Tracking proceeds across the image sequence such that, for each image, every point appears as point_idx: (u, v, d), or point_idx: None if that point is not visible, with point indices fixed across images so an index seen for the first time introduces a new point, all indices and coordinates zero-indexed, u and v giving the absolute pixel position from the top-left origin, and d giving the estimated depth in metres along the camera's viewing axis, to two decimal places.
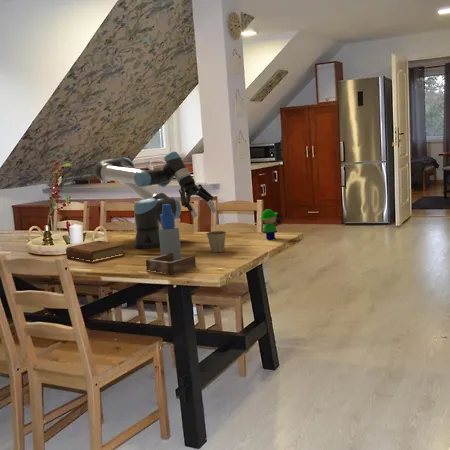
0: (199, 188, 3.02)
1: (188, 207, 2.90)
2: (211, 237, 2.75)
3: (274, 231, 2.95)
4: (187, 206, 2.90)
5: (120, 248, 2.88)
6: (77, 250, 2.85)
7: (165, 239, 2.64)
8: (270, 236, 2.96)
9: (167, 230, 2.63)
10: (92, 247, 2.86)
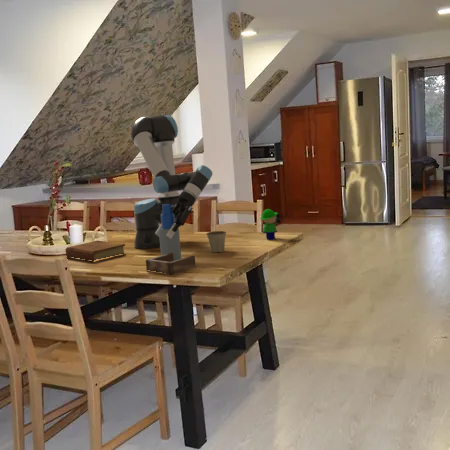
0: None
1: (177, 227, 2.62)
2: (211, 237, 2.75)
3: (274, 231, 2.95)
4: (177, 226, 2.62)
5: (120, 248, 2.88)
6: (77, 250, 2.85)
7: (165, 239, 2.63)
8: (270, 236, 2.96)
9: (167, 230, 2.63)
10: (92, 247, 2.86)
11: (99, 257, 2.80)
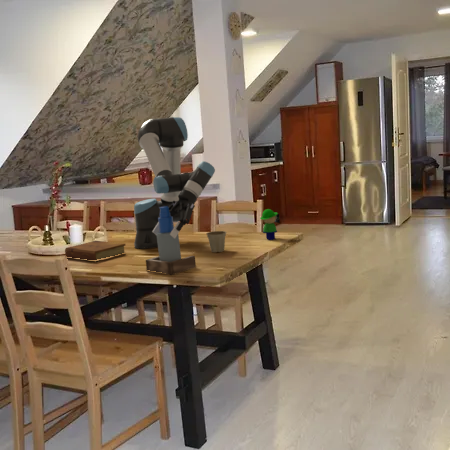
0: None
1: (181, 226, 2.42)
2: (211, 237, 2.75)
3: (274, 231, 2.95)
4: (182, 224, 2.42)
5: (121, 247, 2.89)
6: (78, 250, 2.84)
7: (164, 244, 2.45)
8: (270, 236, 2.96)
9: (165, 234, 2.44)
10: (93, 247, 2.86)
11: (101, 257, 2.80)
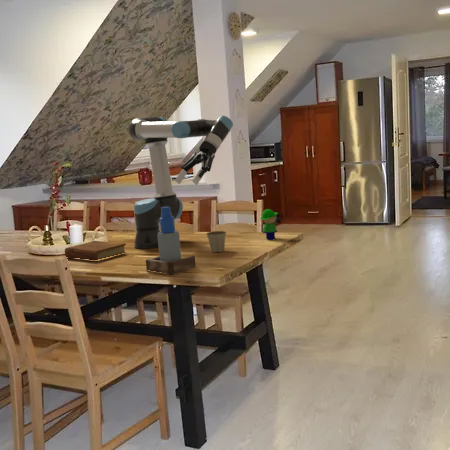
0: None
1: (203, 173, 2.61)
2: (211, 237, 2.75)
3: (274, 231, 2.95)
4: (203, 171, 2.61)
5: (121, 247, 2.90)
6: (79, 250, 2.84)
7: (164, 244, 2.45)
8: (270, 236, 2.96)
9: (166, 235, 2.44)
10: (93, 247, 2.86)
11: (102, 256, 2.80)
